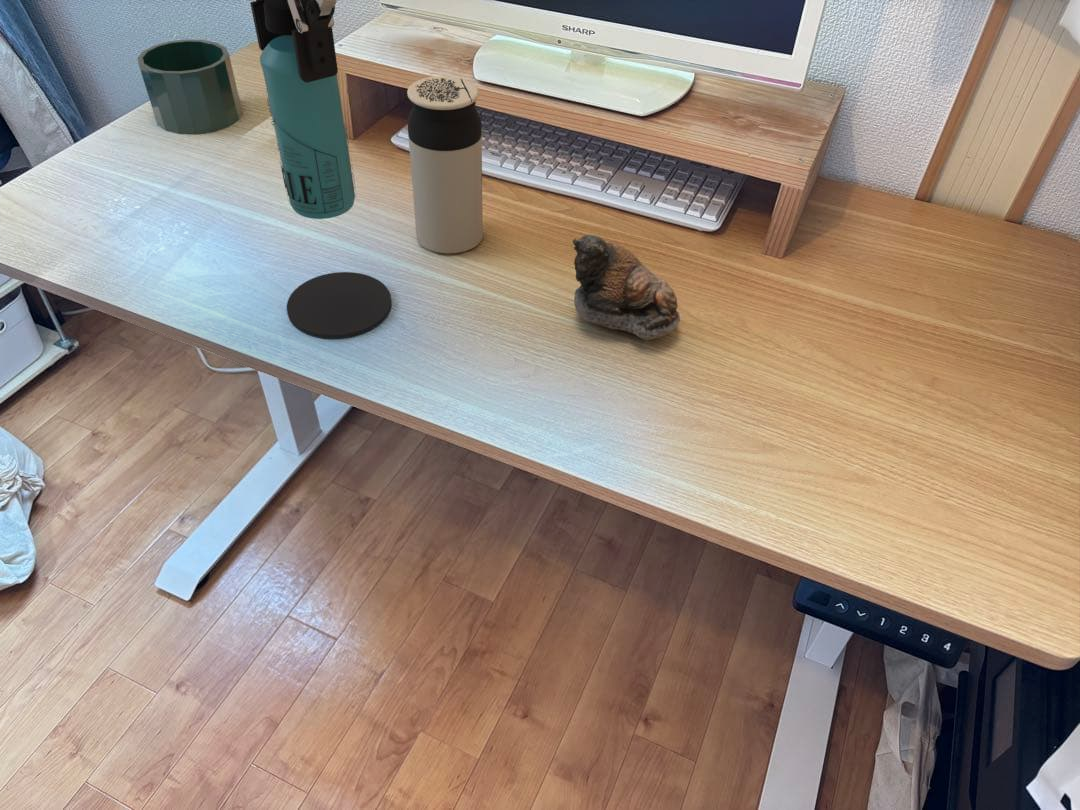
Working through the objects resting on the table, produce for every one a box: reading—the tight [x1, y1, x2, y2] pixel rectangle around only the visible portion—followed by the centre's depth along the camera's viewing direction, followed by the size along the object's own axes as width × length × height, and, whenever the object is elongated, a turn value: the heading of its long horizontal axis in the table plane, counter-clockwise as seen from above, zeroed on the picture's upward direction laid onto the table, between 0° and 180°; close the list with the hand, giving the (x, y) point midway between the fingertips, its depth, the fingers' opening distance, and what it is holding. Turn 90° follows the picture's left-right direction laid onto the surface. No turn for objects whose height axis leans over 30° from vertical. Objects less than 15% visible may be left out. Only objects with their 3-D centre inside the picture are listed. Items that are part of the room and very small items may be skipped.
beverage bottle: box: [259, 0, 357, 220], centre depth 71 cm, size 6×7×20 cm
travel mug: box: [406, 75, 484, 254], centre depth 89 cm, size 8×8×18 cm
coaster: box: [286, 271, 393, 340], centre depth 85 cm, size 11×11×1 cm
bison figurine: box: [572, 234, 681, 341], centre depth 81 cm, size 12×7×10 cm, turn 75°
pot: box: [136, 38, 243, 135], centre depth 109 cm, size 11×11×10 cm
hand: (298, 60), depth 67 cm, fingers closed on beverage bottle, 6 cm apart
